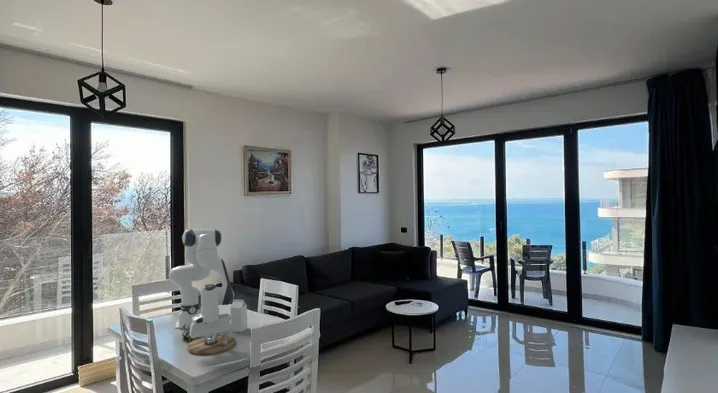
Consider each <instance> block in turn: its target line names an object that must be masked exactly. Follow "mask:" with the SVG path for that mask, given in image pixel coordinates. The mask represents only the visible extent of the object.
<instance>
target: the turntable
mask: <svg viewBox="0 0 718 393" xmlns="http://www.w3.org/2000/svg"><path fill="white" fill-rule="evenodd" d="M216 336H218V343H216V344H214V345H205V344H204V338H205V336H201V337H198V338H197V339H195V340H194V341H193V340H191V342H189V343H188V344H187V352H188V353H189V354H191V355H196V356H208V355H214V354H219V353H223V352H225V351H228V350H230V349H232V348H233V347H234V346H235V338H234V337H233V336H231V335H228V333H226V332H224V333H220V334H216Z"/></svg>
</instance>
